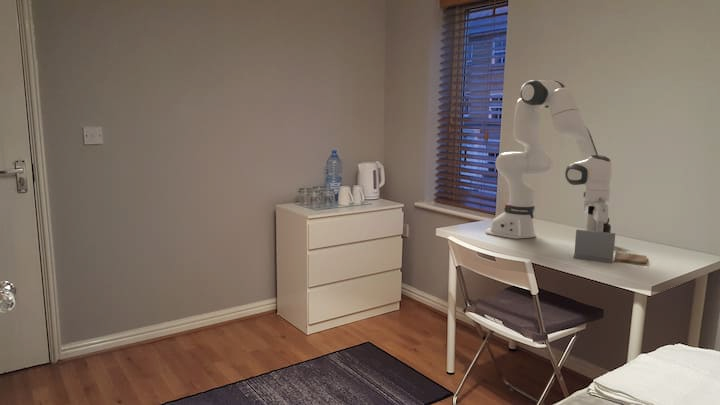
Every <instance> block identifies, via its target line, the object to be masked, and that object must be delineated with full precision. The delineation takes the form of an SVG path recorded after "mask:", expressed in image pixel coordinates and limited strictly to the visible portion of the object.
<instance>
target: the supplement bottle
mask: <svg viewBox="0 0 720 405" xmlns="http://www.w3.org/2000/svg"><path fill="white" fill-rule="evenodd" d="M611 230H612V226H611V224H610V217H608V221H607V223H604V226H603V232H607V233H612V232H611Z"/></svg>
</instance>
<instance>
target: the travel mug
mask: <svg viewBox="0 0 720 405" xmlns="http://www.w3.org/2000/svg"><path fill="white" fill-rule="evenodd" d="M593 210H594V206H588V215H586V217H587V218H586V228H585V230H588V231H595V227H596V221H595V220H593V218H592V216H593ZM603 226H604V223H603V225H602V227H601V232H603Z"/></svg>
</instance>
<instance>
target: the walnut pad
mask: <svg viewBox="0 0 720 405" xmlns="http://www.w3.org/2000/svg"><path fill="white" fill-rule="evenodd" d="M613 262H617V263H627V264H634V265H640V266H641V265H642V266H647V255H643V254H635V253H627V252H626V253H625V252H617V251H616V252H615V255H614V258H613Z"/></svg>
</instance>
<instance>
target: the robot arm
mask: <svg viewBox="0 0 720 405" xmlns="http://www.w3.org/2000/svg"><path fill="white" fill-rule="evenodd" d="M519 93H520V98H519V99H518V100H517V102H516V105H515V110H514V114H513V115H514V117H513V128H512V129H513V132H512V136H513V139H514V141H516V142H517V143H518V144H520V145H523V147H524V151H507V152H506V151H505V152H501V153H499V155H497V157H496V159H495V169H496V170H497V173H499V174H500V175H501V176H502V177H503V178H504V179H505V180H506V183H507V184H508V185H507V186H508V189H509V192H508V193H509V196H508V197H509V198H508V199H509V201H508V202H509V203H508V202H507V203H506V204H505V205H504V207H503V209H504V211H503V212H502V213H501V214H499V215H497V216H496V217H495V218H493V220H492V221H491V225H490V227H488V228H486V230H485V233H486V235H487V234H488V235H491V236H497V237H502V238H503V237H504V238H510V239H516V240H517V239H529V238H534V237H536V232H535V224H534V218H535V215H536V214H535V213H536V212H535V211H536V208H535V193H536V191H535V188H534V187H533V186H532V185H531V184H529V183H527V182H525V180H524V176H525V177H526V176H531V177H532V176H536V177H537V176H542V175H543V176H544V175H548V174H549V173H550V172H551V171H552V169H553V166H554V163H553V162H554V161H553V158H552V156H551V155H550V154H549V153H548V152H547V151H545V149H544V148H543V146H542V144H541V141H540V119H541V118H540V116H541V115H540V114H541V111H542V109H543V108H546V109H547V108H549V110H550V115H551V118H552V124H553V125H554V128H555V130H556V132H557V133H559V134H561V135H562V136H564V137H567V138H569V139H571V140H572V141H573V142H574V143H576V145H577V147H578V150H579V153H580V155H581V158H582V160H580V161H576V162H572V163H570V164H568V165H567V166H566V169H565V172H564V176H565V180H566V181H567V182H568V183H569V184H570V185H573V186H585V191H583V194H582V195H583V196H582V197H583V198H584V199H583V213H584V214H585V215H586V216H587V215H588V206H594V210H593V216H592V218H593V220H595V221H596V227H595V231H597V232H601V227H602V225H603V223H607V221H608V218H609V206H608V205H609V204H608V203H609V202H610V194H611V187H610V186H611V185H610V182H611V180H612V172H613V168H612V161H611V159H610V158H609V157H607V156H605V155H600V154H598V151H597V149H596V146H595V142H594V141H593V137H592V135H591V132H590V130H589V128H588V127H587V125H586V124H585V122H584V120H583V118H582V115H581V111H580V106H579V103H578V101H577V98H576V96H575V94H574V92H573V90H572V89H571V88H570V87H569V88H568V87H566V85H565V84H563V83H562V82H560V81H557V80H550V79H541V80H540V79H538V80H537V79H532V80H528V81H526V82H525V83H524V84H523V85H522V86H521V88H520V92H519ZM607 202H608V203H607Z"/></svg>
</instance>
